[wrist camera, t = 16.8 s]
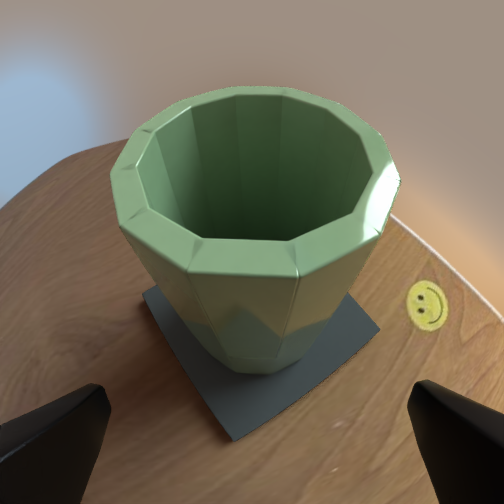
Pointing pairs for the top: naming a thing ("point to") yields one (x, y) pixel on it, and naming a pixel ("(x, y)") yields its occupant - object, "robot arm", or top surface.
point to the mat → (261, 385)
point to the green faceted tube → (254, 215)
